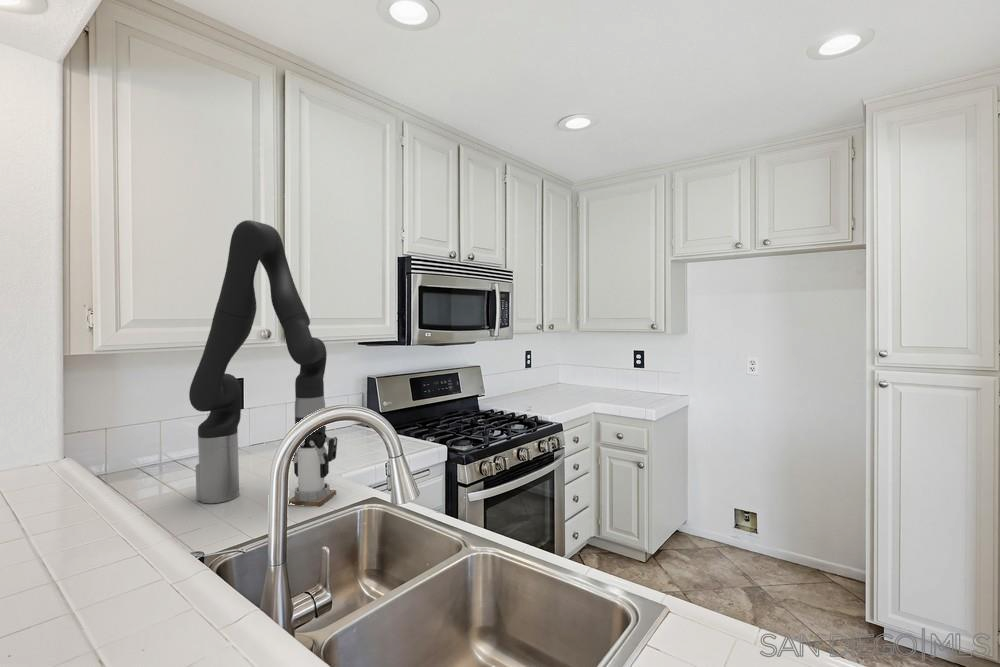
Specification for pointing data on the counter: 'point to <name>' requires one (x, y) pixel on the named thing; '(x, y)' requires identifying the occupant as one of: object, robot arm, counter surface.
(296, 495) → the collar
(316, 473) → the can
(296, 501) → the board
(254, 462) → the counter surface
